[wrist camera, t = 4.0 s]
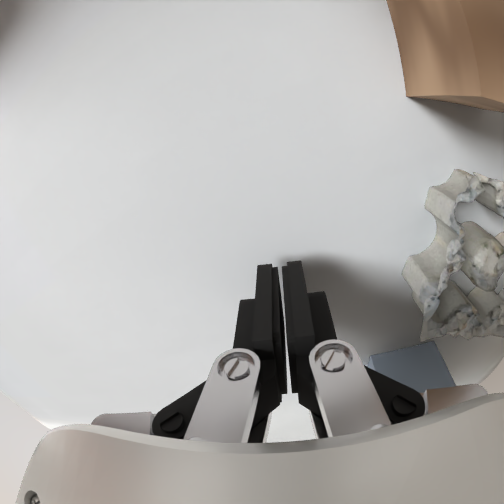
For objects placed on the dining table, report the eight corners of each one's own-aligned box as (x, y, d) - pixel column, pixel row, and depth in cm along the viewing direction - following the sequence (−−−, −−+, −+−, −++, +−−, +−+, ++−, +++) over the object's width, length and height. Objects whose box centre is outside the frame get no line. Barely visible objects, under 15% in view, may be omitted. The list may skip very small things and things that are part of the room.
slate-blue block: (370, 354, 14) (388, 418, 10) (433, 340, 14) (459, 394, 10) (360, 393, 16) (371, 447, 12) (415, 380, 16) (432, 429, 12)
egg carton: (539, 207, 9) (579, 236, 5) (496, 306, 13) (524, 344, 9) (433, 144, 9) (499, 165, 5) (381, 294, 12) (411, 355, 9)
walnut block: (385, -2, 6) (440, -44, 2) (465, 21, 5) (529, 8, 1) (405, 96, 8) (481, 96, 4) (482, 109, 7) (553, 123, 3)
